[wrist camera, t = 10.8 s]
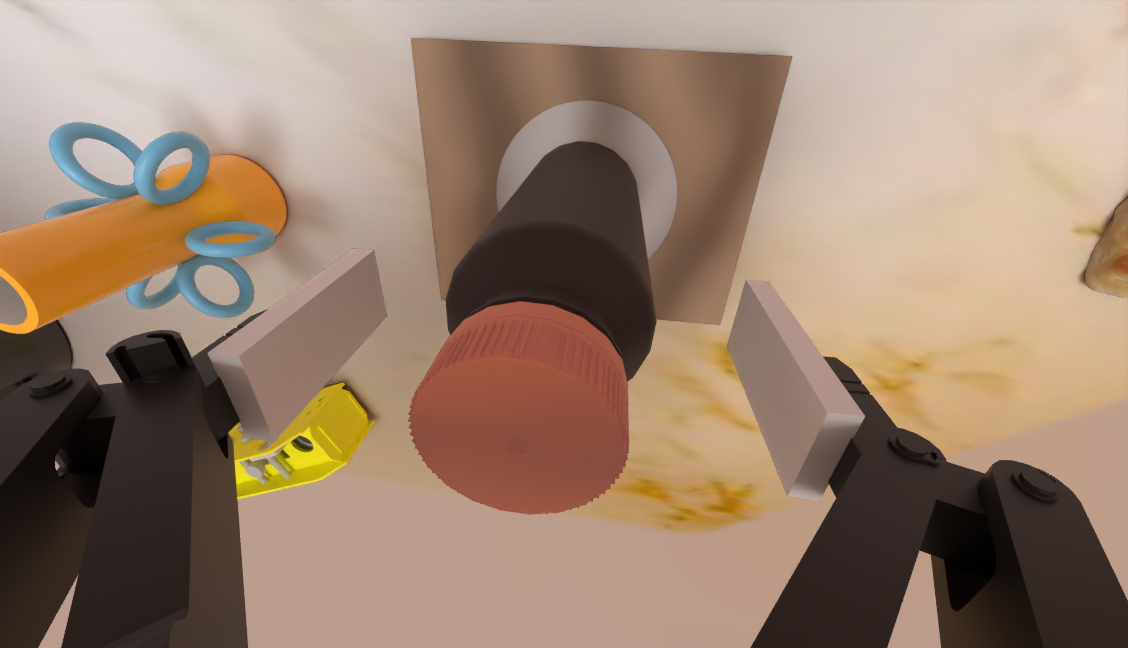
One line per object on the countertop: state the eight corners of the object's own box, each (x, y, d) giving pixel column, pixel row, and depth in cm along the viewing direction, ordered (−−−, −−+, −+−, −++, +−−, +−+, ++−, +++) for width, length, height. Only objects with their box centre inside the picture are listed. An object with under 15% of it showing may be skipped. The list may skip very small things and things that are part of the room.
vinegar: (638, 249, 28) (669, 547, 11) (534, 253, 29) (410, 533, 12) (638, 135, 24) (683, 306, 7) (520, 144, 25) (316, 314, 8)
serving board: (448, 290, 33) (439, 302, 31) (421, 39, 25) (407, 37, 23) (716, 314, 32) (721, 328, 30) (783, 56, 23) (795, 56, 22)
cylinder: (357, 246, 32) (183, 368, 19) (259, 293, 35) (54, 425, 22) (233, 71, 27) (-119, 80, 14) (131, 145, 30) (-233, 208, 17)
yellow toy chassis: (345, 372, 39) (283, 442, 32) (381, 418, 41) (331, 492, 34) (219, 411, 43) (141, 479, 36) (258, 450, 46) (192, 522, 39)
